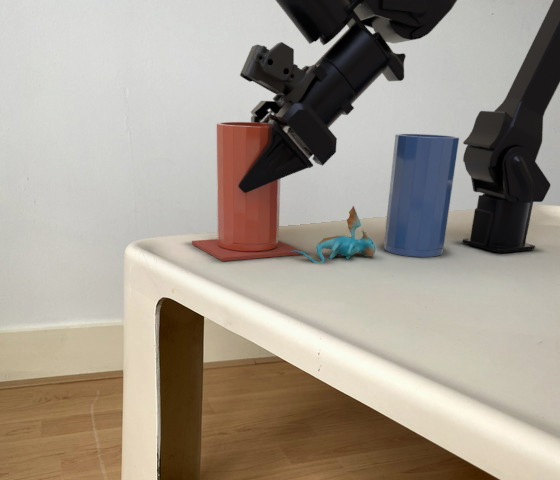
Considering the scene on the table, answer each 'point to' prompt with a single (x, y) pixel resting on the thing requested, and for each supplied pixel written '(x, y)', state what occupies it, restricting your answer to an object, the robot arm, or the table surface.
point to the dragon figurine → (346, 242)
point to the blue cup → (420, 194)
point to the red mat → (228, 255)
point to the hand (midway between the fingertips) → (236, 185)
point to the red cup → (232, 200)
